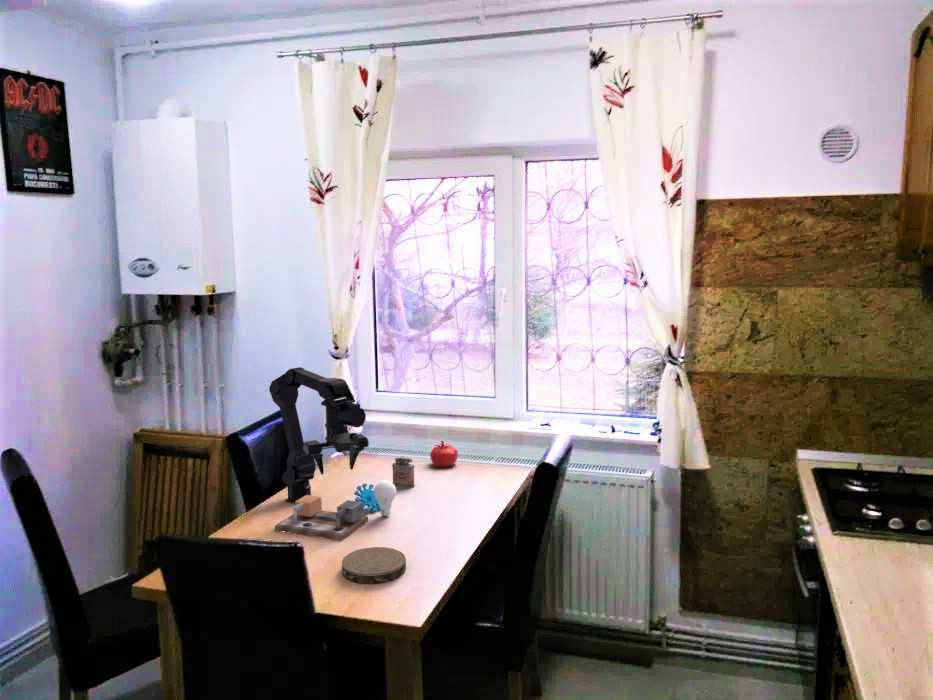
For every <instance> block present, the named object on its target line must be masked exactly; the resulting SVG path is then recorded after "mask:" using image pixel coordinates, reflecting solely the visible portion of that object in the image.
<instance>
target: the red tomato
mask: <svg viewBox="0 0 933 700" xmlns="http://www.w3.org/2000/svg"><path fill="white" fill-rule="evenodd" d="M458 454H459V453H458V450H457V449H456V448H455V447H454V446H453V445H452V444H450V443H449V442H448V443H446V444H445V441H444V440H441V441H440V443H439V444H436V445H434V447H433V449H432V450H431V452H430V455H429V456H430V460H431V462H432V464H433V466H434V467H436V468H447V467H452V466H454V465H455V463H457V460H458V456H459V455H458Z"/></svg>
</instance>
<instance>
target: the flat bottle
mask: <svg viewBox="0 0 933 700" xmlns="http://www.w3.org/2000/svg"><path fill="white" fill-rule="evenodd" d="M394 461H395V462H393V463H391V467H392V483H393V484H394V486H396V487H395V488H401V487H402V488H403V489H414V488H415V487H416V484H415V464H413V458H412V457H411V458H410V457H405V456H401V457H399V456H396V457H395V458H394Z"/></svg>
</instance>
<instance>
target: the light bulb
mask: <svg viewBox="0 0 933 700" xmlns="http://www.w3.org/2000/svg"><path fill="white" fill-rule="evenodd" d="M373 488H374V489H373V490H374V496H375V498H376V499H377V501H378V503H379V505H380V509H381V510H380V515H381V516H382V517H388V516H389V515H391V513H392V511H391V509H392V503H393V501H394V499H395V498H396V495H397V487H395V486H394V484H393V481H392V482H391V481H390V480H385V479H384V480H381V481H379V482H378V483H376V485H375V486H374V487H373Z"/></svg>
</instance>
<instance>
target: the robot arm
mask: <svg viewBox="0 0 933 700" xmlns="http://www.w3.org/2000/svg"><path fill="white" fill-rule="evenodd" d="M301 386H304V387H305V388H308V389H311V390H314V391H316V392H317V393H318V395H319V397H320V398H322V399H323V400H322V401H321V403H320V405H321V406H324V407H325V423H324V428H325V431H326V432H325V433H326V434H325V442H320V441H318V440H316V439H315V440H308V441H304V437H303V434H302V428H301V423H300V419H299V415H298V410H297V405H296V404H297V401H298V398H299V388H300V387H301ZM268 390H269V392H270V396H271V399H272V402H274V404H275V405H276V406H277V407H278V408H279V410H280V416H281V419H282V420H281V421H282V424H283V428H284V435H285V438H286V443H287V446H288V451H289V454H288V457H287V459H286V470H285V472H283V474H282V475H281V479H282V483H283V484H286V485H287V498H286V499H284V501H285V502H286V501H287V502H288V503H294V504H295V501H297V500H299V499H300V498H302V497H304V496H306V495H311V496H313V495H312V489H311V484H310V481H311V480H314V477H315V473H316V466H317V467H318V470H319V472H320V474H321V475H322V476H323V475H324V462H323V456H324V454H323V453H322V451H323V450H326V449H328V450H329V449H335V451H336V453H342V452H348V453H349V455H348V458H349V461H348V462H349V469H350V470H351V471H353V469H354V467H355V463H356V461H357V457H358V455H359V453H360V452H361V451H364V450H365V448H368V447H369V445H370V444H369V443H370V442H369V439H368V437H366V436H365V435H363V434H361V433H359V434H358V432H351V433H349V431H348V427H347V426H350V427H354V428H360V427H362V426H363V425H364V424H365V422H366V417H367V415H366V413H365V410H364V409H363V408H361V404H360V403H358V402H357V403H356V400H355V396H354V395H353V393H352V391H351V389H350V387H349V385H348V383H347V381H346V380H345V379H344V378H338V377H337V378H336V377H324V376H323V375H320V374H318V373H317V374H316V373H315V372H311V371H310V370H308V369H307V370H306V369H305V368H304V367H300V366H298V367H293V368H289V369H288V370H287V371H286V372H285V373H283V374H282V375H280V376H278V377H276V378H275V379H273V380H272V381H271V383H270V385H269V389H268Z"/></svg>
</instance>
